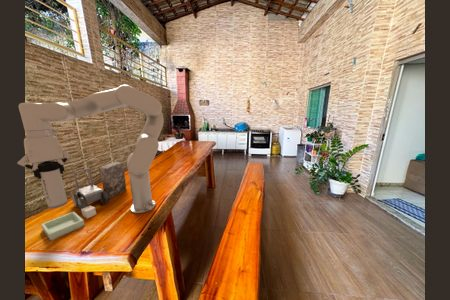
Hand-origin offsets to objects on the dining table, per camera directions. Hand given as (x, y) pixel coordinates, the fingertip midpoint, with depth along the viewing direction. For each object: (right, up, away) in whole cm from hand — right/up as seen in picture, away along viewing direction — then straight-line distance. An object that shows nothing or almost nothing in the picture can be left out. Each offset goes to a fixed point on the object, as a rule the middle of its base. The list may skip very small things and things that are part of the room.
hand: (50, 175), depth 73 cm
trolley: (-2, -21, +25) cm, 33 cm away
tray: (0, -25, +6) cm, 26 cm away
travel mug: (0, -14, +3) cm, 14 cm away
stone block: (+3, -18, +39) cm, 43 cm away
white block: (+4, -23, +15) cm, 28 cm away
